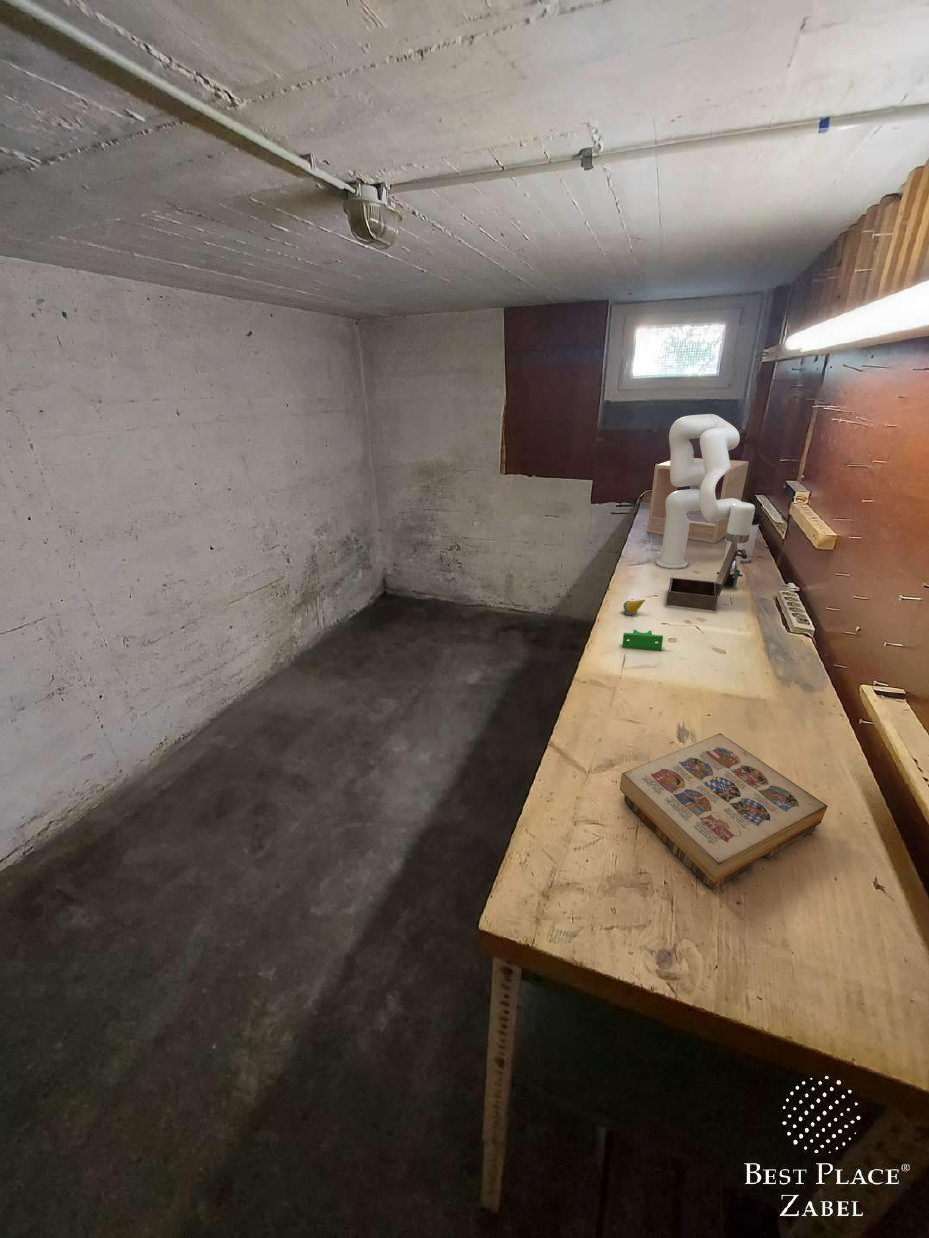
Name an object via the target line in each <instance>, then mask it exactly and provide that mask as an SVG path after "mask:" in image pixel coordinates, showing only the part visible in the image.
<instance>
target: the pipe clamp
mask: <svg viewBox="0 0 929 1238" xmlns="http://www.w3.org/2000/svg"><path fill="white" fill-rule="evenodd" d="M652 632H653V631H652V630H648V631H647V632H640V631H638V630H637V629H632V632H623V634H622V644H621V646H622V648H628V649H640V650H653V651H662V647H663V641H664V635H662V634H653V633H652Z"/></svg>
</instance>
